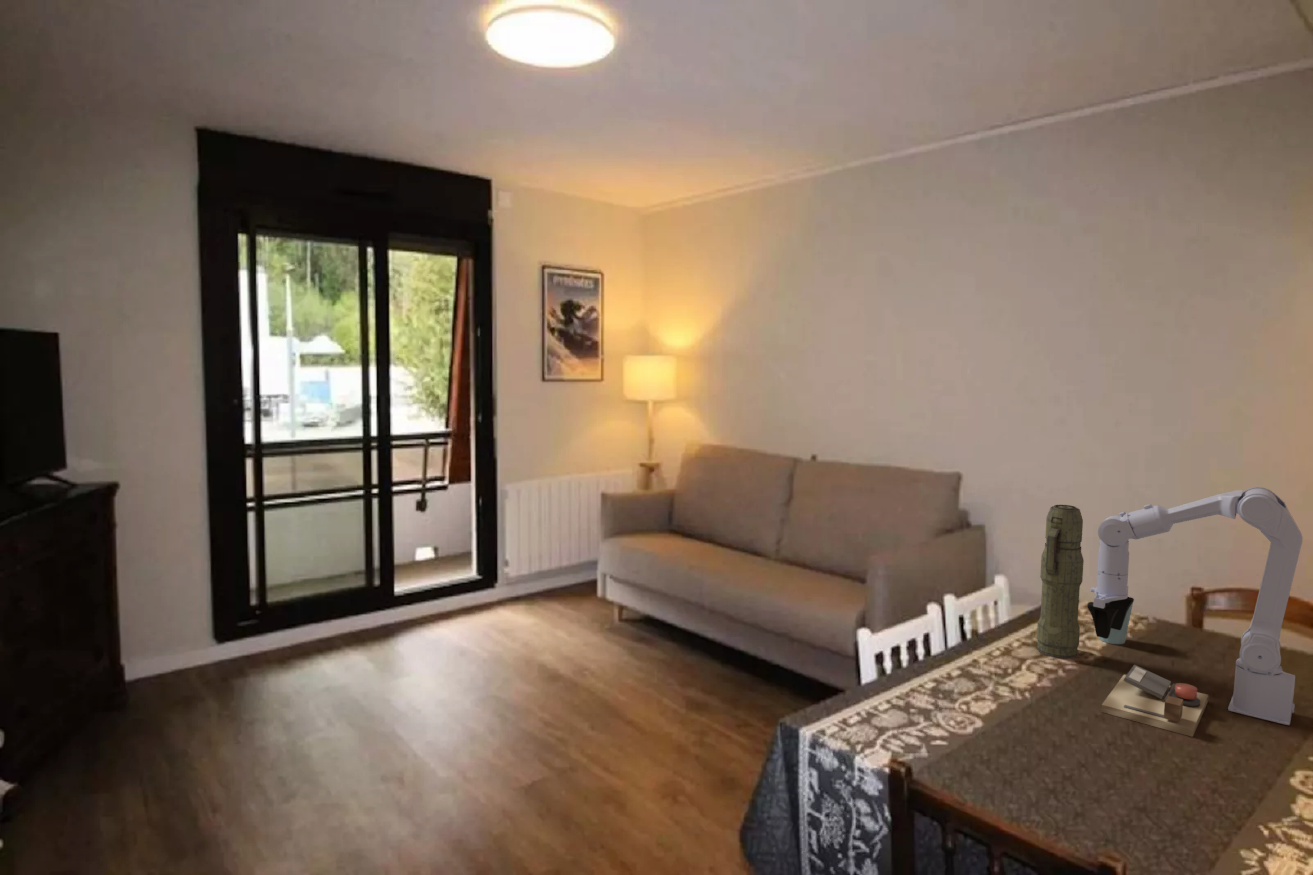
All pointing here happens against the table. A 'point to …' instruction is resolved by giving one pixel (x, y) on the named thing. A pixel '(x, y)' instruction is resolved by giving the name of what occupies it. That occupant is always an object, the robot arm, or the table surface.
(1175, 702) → the slider knob
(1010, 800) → the table surface
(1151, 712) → the control panel
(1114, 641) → the cup
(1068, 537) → the thermos
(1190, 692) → the push button
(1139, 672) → the paddle switch
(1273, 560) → the robot arm
